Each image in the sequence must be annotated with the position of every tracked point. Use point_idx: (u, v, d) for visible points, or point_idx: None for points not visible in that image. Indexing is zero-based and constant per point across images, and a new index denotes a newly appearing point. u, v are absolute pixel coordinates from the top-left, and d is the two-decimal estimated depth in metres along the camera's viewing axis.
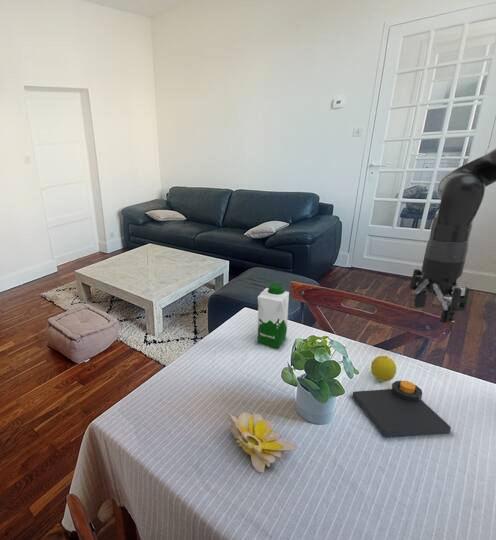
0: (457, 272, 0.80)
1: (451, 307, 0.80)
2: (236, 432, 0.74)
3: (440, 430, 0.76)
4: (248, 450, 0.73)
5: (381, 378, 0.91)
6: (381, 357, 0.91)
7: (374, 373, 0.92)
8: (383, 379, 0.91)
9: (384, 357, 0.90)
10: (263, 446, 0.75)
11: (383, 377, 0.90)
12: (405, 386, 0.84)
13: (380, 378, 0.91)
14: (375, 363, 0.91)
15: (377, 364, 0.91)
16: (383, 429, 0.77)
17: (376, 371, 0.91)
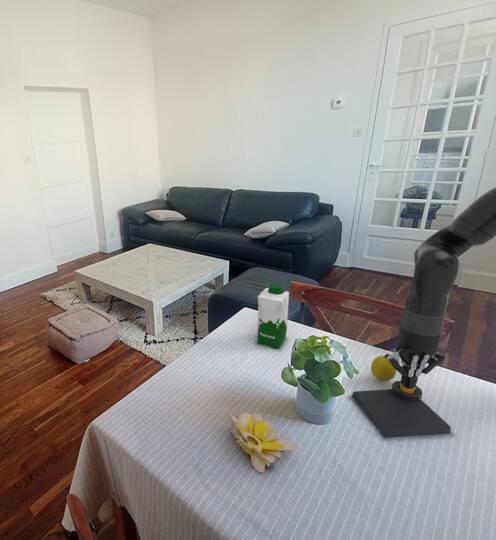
0: (404, 339, 0.79)
1: None
2: (236, 432, 0.74)
3: (440, 430, 0.76)
4: (248, 450, 0.73)
5: (381, 378, 0.91)
6: (381, 357, 0.91)
7: (374, 373, 0.92)
8: (383, 379, 0.91)
9: (384, 357, 0.90)
10: (263, 446, 0.75)
11: (383, 377, 0.90)
12: (405, 387, 0.84)
13: (380, 378, 0.91)
14: (375, 363, 0.91)
15: (377, 364, 0.91)
16: (383, 429, 0.77)
17: (376, 371, 0.91)
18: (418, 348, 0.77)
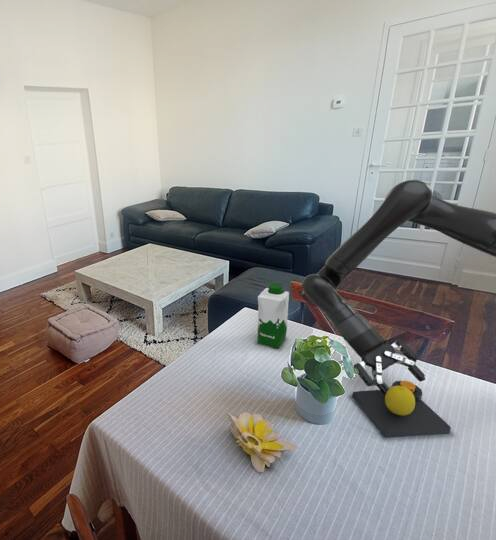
0: (356, 349, 0.90)
1: None
2: (236, 432, 0.74)
3: (440, 430, 0.76)
4: (248, 450, 0.73)
5: (397, 412, 0.77)
6: (397, 388, 0.78)
7: (389, 406, 0.79)
8: (399, 414, 0.77)
9: (401, 388, 0.77)
10: (263, 446, 0.75)
11: (400, 412, 0.77)
12: (405, 386, 0.84)
13: (396, 412, 0.78)
14: (389, 395, 0.78)
15: (392, 396, 0.77)
16: (383, 429, 0.77)
17: (392, 404, 0.78)
18: (367, 347, 0.87)
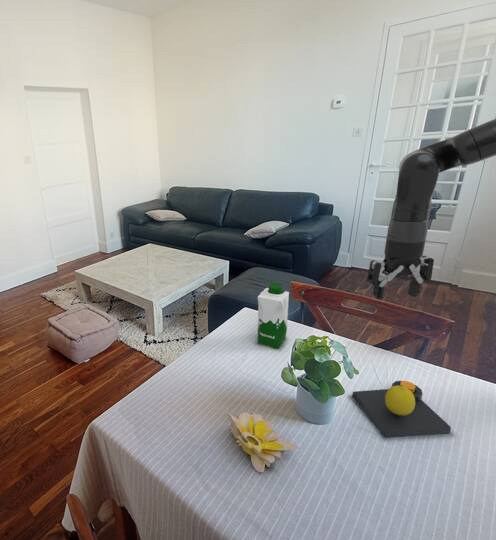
0: (389, 250, 0.83)
1: None
2: (236, 432, 0.74)
3: (440, 430, 0.76)
4: (248, 450, 0.73)
5: (397, 412, 0.77)
6: (397, 388, 0.78)
7: (389, 406, 0.79)
8: (399, 414, 0.77)
9: (401, 388, 0.77)
10: (263, 446, 0.75)
11: (400, 412, 0.77)
12: (405, 386, 0.84)
13: (396, 412, 0.78)
14: (389, 395, 0.78)
15: (392, 396, 0.77)
16: (383, 429, 0.77)
17: (392, 404, 0.78)
18: (403, 256, 0.81)
